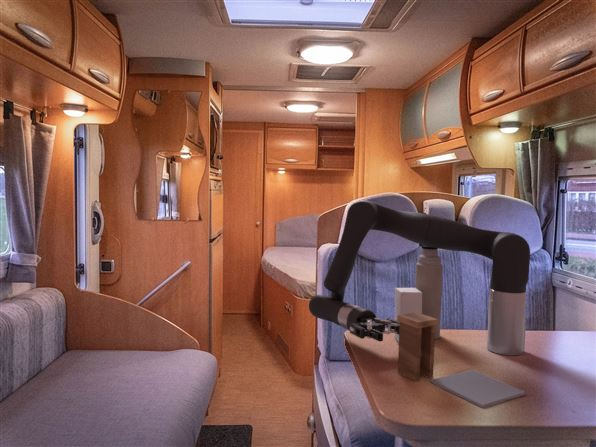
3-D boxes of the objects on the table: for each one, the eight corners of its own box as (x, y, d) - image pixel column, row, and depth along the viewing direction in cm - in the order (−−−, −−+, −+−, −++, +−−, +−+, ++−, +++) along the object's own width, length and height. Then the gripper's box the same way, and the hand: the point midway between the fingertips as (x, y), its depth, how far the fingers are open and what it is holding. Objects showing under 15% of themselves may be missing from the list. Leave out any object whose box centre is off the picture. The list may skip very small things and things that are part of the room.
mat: (472, 372, 110) (472, 369, 110) (525, 394, 98) (525, 391, 98) (430, 382, 103) (430, 379, 103) (482, 407, 91) (482, 405, 91)
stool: (414, 367, 112) (417, 312, 111) (435, 377, 106) (438, 319, 105) (395, 372, 109) (397, 315, 108) (415, 382, 103) (417, 322, 102)
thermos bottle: (438, 332, 143) (442, 244, 141) (441, 340, 135) (445, 247, 133) (412, 330, 144) (416, 243, 143) (413, 338, 136) (417, 246, 135)
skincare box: (421, 346, 129) (423, 292, 128) (398, 345, 129) (400, 292, 128) (414, 337, 137) (416, 287, 136) (392, 336, 137) (394, 286, 136)
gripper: (336, 309, 124) (373, 324, 110) (376, 304, 131) (416, 317, 117) (335, 335, 125) (372, 354, 110) (375, 329, 132) (415, 346, 117)
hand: (395, 335), depth 114 cm, fingers open, 8 cm apart
